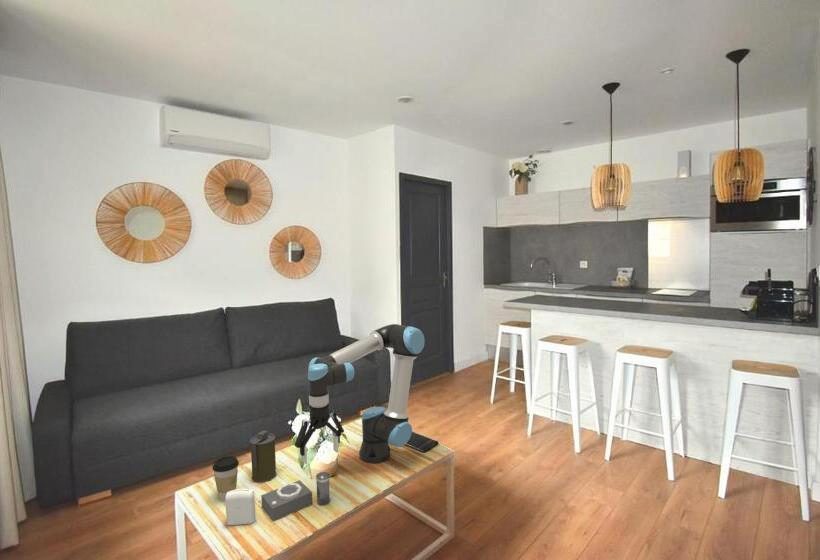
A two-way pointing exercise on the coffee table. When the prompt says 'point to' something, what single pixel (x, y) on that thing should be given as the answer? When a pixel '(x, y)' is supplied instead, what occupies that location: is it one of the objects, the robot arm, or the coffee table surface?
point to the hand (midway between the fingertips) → (320, 456)
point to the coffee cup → (225, 475)
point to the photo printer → (240, 507)
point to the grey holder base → (286, 500)
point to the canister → (263, 457)
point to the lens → (323, 488)
